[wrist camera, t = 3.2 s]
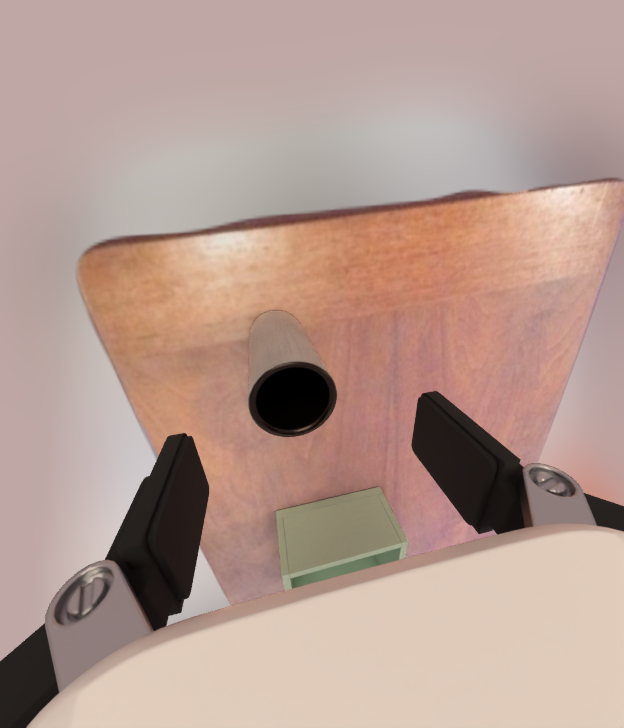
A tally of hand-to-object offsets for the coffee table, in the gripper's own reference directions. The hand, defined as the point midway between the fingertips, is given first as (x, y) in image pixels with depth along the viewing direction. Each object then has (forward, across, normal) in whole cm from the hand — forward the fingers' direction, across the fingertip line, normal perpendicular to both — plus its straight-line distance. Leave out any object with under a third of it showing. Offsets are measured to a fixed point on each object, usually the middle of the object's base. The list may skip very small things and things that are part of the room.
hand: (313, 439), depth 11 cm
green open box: (+13, -3, +29) cm, 32 cm away
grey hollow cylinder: (+13, +1, 0) cm, 13 cm away
